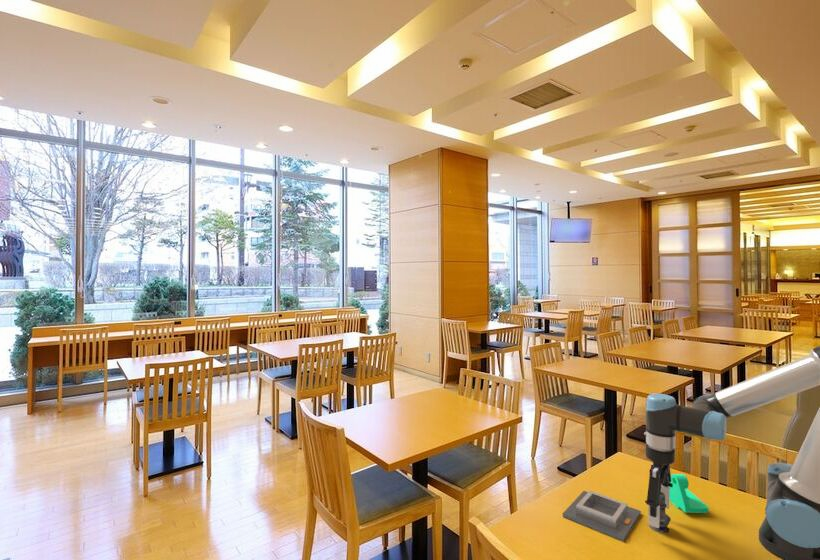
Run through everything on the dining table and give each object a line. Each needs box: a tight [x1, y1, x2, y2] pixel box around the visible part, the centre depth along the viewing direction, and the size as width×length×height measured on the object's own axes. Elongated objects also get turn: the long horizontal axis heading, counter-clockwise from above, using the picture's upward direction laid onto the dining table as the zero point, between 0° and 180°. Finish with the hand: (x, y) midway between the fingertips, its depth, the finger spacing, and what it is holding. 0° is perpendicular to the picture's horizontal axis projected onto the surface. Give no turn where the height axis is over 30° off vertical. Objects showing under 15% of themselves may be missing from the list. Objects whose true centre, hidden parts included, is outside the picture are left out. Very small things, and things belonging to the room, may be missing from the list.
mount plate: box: [562, 490, 642, 542], centre depth 132 cm, size 18×18×4 cm
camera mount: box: [668, 473, 709, 514], centre depth 138 cm, size 12×8×10 cm, turn 178°
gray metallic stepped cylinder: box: [648, 492, 672, 534], centre depth 126 cm, size 6×6×12 cm
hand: (659, 516), depth 126 cm, fingers open, 12 cm apart
